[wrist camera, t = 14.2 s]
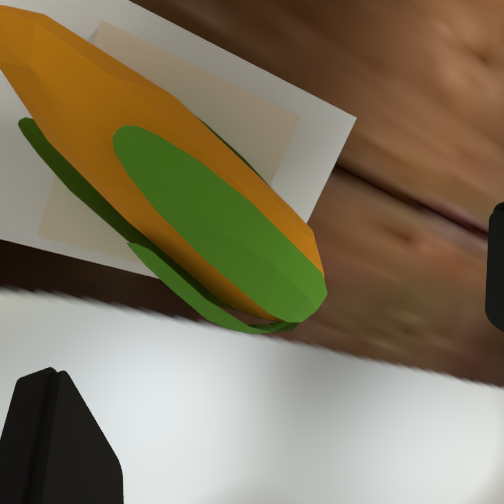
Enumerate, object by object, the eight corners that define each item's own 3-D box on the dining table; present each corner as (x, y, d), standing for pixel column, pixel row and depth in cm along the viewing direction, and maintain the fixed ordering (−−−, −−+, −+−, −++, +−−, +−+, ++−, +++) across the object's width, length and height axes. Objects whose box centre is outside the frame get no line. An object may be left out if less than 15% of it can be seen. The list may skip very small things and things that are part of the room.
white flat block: (-50, 215, 24) (-72, 238, 21) (14, -54, 20) (-2, -74, 17) (260, 295, 32) (277, 320, 29) (345, 114, 29) (374, 121, 26)
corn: (291, 399, 22) (-145, 97, 12) (241, 325, 28) (-66, 92, 19) (391, 291, 22) (34, -103, 12) (318, 242, 28) (49, -37, 19)
